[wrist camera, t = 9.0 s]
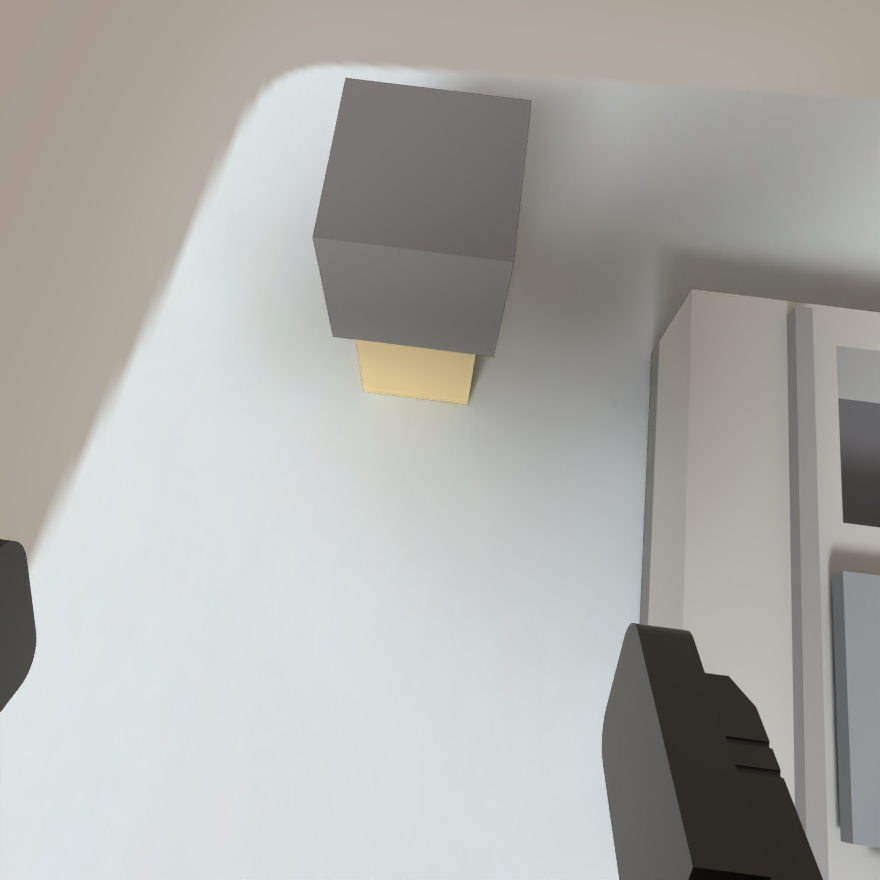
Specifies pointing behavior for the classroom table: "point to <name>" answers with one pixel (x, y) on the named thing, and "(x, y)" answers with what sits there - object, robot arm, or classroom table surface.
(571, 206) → the classroom table surface
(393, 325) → the plug
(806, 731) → the socket
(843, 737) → the shutter
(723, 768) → the robot arm
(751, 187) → the classroom table surface
